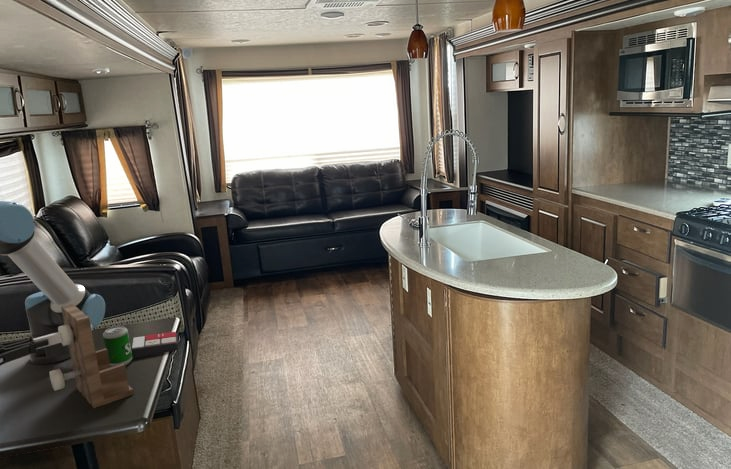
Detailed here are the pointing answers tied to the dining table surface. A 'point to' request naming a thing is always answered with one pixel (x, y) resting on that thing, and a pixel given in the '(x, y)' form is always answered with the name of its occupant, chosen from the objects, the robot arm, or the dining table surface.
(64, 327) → the upper knob
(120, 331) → the soda can
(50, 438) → the dining table surface
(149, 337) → the calculator
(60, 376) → the lower knob
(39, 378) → the dining table surface
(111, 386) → the knob panel
